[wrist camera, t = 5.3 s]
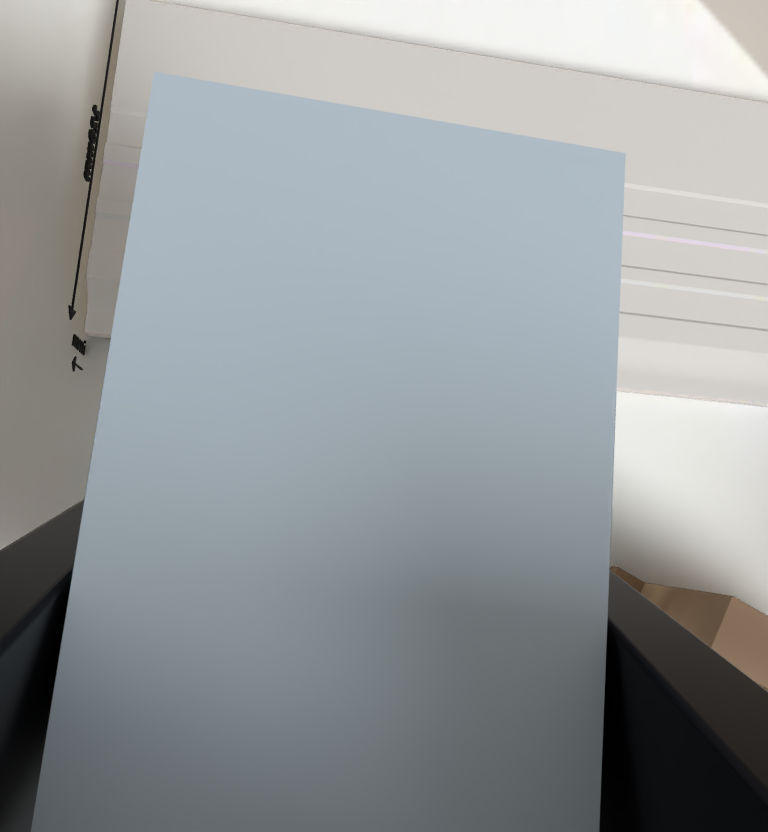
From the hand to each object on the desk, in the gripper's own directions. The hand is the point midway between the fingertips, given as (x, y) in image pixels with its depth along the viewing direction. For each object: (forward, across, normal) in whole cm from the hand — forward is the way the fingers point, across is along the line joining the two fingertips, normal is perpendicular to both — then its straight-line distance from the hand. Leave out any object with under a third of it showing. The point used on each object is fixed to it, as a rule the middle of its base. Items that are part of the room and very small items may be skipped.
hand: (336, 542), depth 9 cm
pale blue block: (+4, 0, -6) cm, 7 cm away
